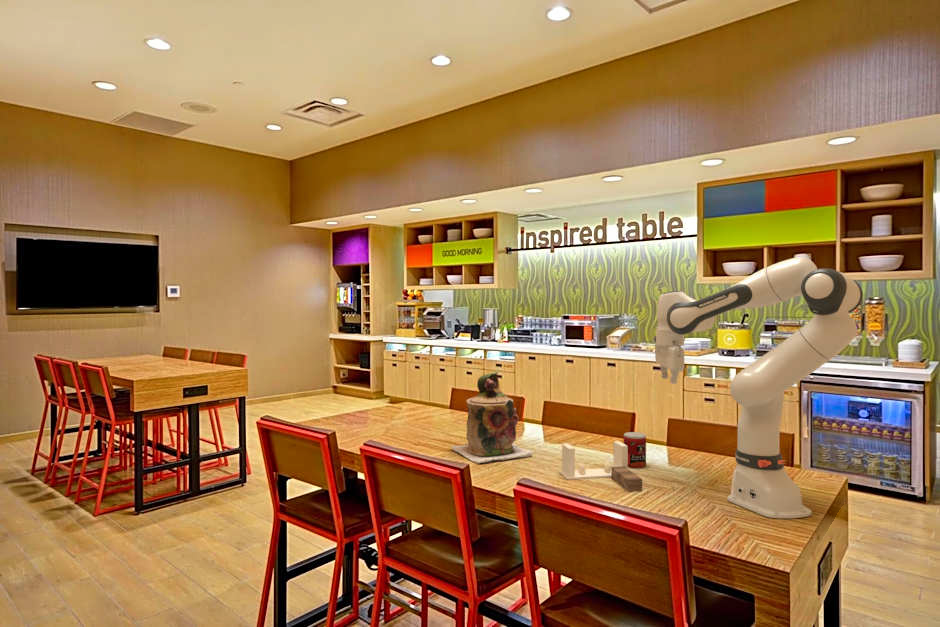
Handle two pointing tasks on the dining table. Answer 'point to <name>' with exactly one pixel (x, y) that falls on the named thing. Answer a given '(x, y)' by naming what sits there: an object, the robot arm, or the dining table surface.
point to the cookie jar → (491, 424)
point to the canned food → (636, 449)
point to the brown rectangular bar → (626, 478)
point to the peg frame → (583, 473)
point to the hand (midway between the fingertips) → (668, 380)
